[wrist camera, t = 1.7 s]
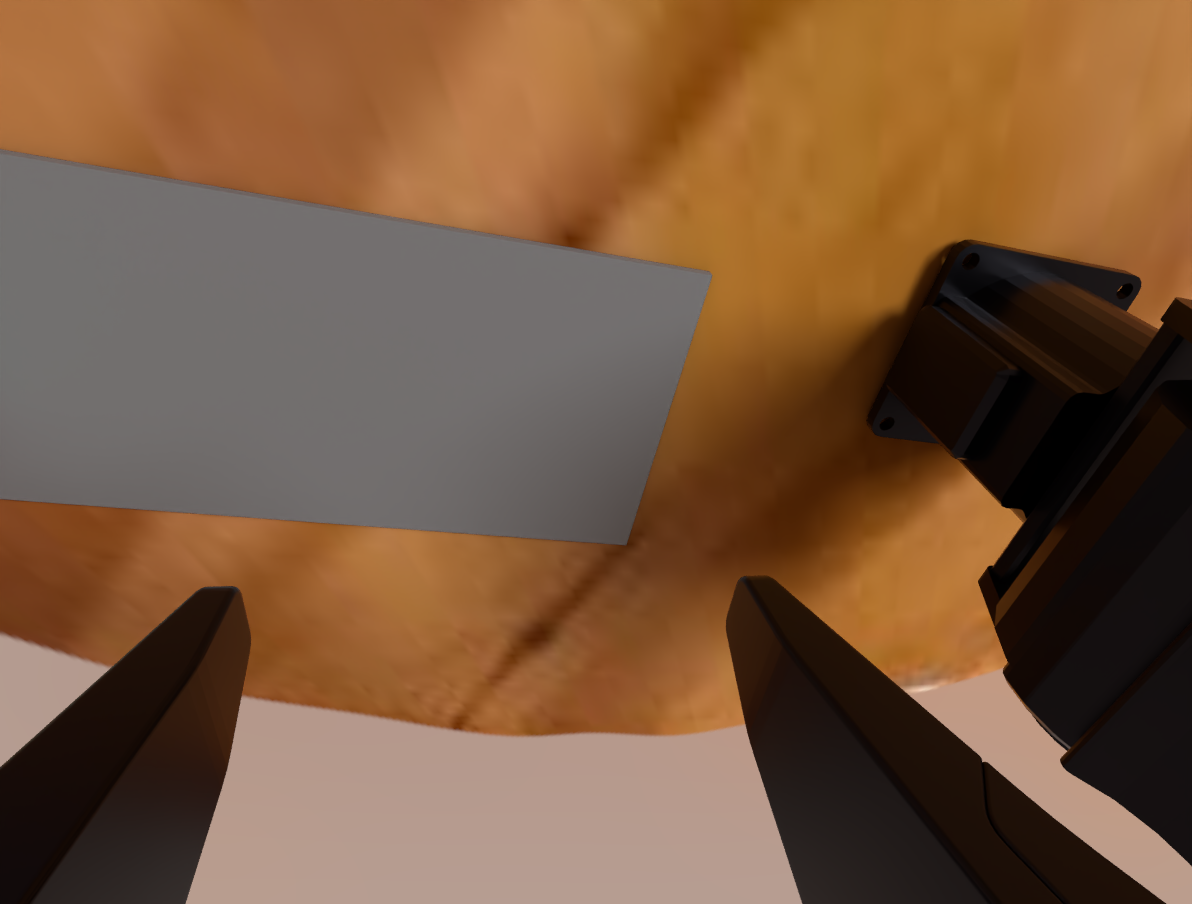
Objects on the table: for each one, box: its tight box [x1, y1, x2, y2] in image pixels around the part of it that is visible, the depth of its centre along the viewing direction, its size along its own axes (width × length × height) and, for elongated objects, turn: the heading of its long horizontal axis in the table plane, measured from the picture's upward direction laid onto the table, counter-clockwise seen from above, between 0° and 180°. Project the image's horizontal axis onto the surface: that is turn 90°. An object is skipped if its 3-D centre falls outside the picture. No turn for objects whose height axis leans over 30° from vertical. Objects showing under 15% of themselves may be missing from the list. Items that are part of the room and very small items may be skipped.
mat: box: [0, 149, 712, 545], centre depth 19 cm, size 28×10×1 cm, turn 78°
